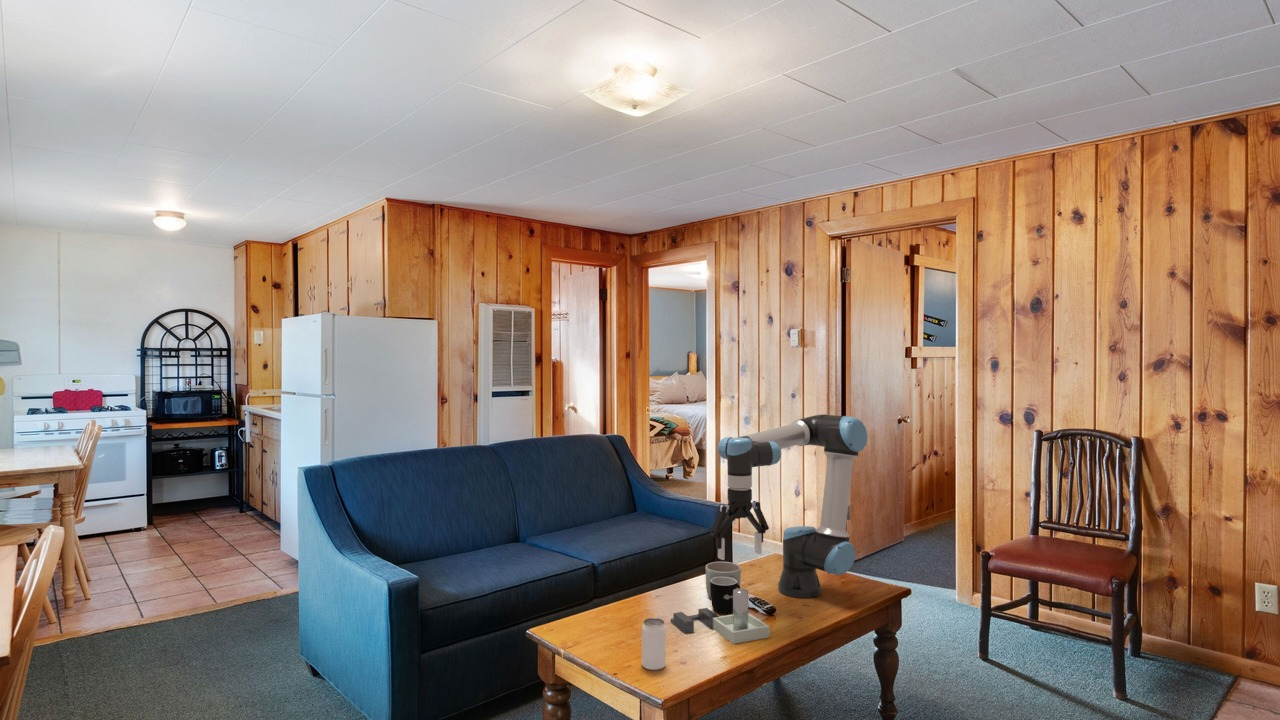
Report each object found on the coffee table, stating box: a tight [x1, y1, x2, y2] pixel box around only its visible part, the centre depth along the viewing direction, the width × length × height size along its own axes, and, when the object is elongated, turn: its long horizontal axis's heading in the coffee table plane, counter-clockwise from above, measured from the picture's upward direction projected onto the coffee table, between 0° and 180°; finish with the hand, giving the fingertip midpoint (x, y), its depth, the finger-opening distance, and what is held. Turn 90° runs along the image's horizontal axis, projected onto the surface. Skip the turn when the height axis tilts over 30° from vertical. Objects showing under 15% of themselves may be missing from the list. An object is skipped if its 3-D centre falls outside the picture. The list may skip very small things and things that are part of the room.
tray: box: [712, 612, 770, 645], centre depth 210 cm, size 13×13×3 cm
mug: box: [710, 577, 741, 615], centre depth 229 cm, size 12×9×10 cm
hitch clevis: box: [670, 607, 720, 634], centre depth 216 cm, size 12×10×4 cm
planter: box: [705, 561, 742, 599], centre depth 241 cm, size 12×12×11 cm
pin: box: [732, 587, 749, 631], centre depth 211 cm, size 5×5×12 cm
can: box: [641, 617, 667, 671], centre depth 188 cm, size 6×6×12 cm
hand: (739, 556), depth 214 cm, fingers open, 13 cm apart
